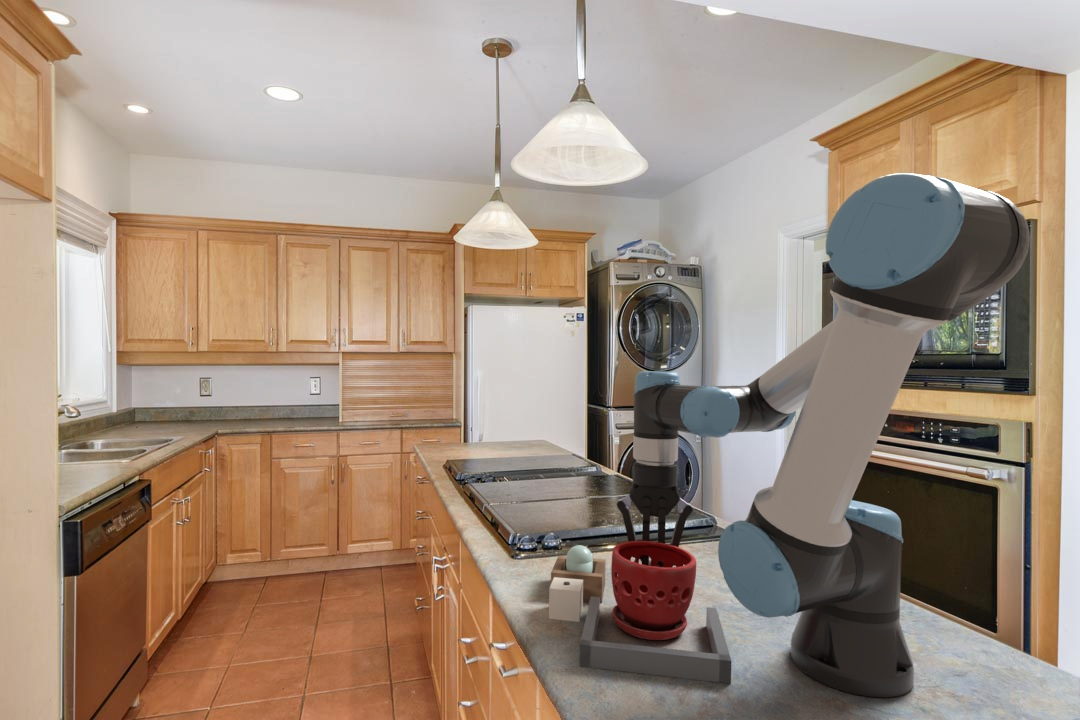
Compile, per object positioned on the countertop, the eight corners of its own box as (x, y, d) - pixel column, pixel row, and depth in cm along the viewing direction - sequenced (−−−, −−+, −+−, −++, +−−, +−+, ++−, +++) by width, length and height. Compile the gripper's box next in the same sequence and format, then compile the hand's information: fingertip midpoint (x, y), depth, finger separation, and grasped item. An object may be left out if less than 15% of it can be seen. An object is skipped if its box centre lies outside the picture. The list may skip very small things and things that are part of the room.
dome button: (593, 579, 108) (594, 542, 108) (590, 589, 103) (591, 551, 103) (567, 577, 109) (568, 540, 109) (564, 587, 104) (564, 549, 104)
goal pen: (715, 626, 93) (716, 608, 93) (730, 683, 77) (731, 661, 77) (590, 614, 96) (590, 596, 96) (579, 666, 80) (579, 644, 80)
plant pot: (637, 654, 84) (639, 571, 84) (595, 615, 96) (597, 543, 96) (712, 640, 88) (714, 561, 88) (663, 605, 101) (665, 535, 101)
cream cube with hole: (582, 609, 99) (583, 578, 99) (579, 622, 94) (580, 590, 94) (553, 606, 100) (554, 575, 99) (548, 619, 95) (549, 587, 95)
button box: (605, 583, 110) (605, 559, 110) (601, 602, 101) (602, 576, 101) (557, 578, 112) (558, 555, 111) (550, 597, 103) (551, 572, 103)
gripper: (692, 459, 102) (690, 593, 102) (617, 455, 105) (615, 587, 105) (696, 467, 95) (693, 612, 95) (615, 463, 97) (612, 604, 97)
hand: (652, 598), depth 100 cm, fingers closed
